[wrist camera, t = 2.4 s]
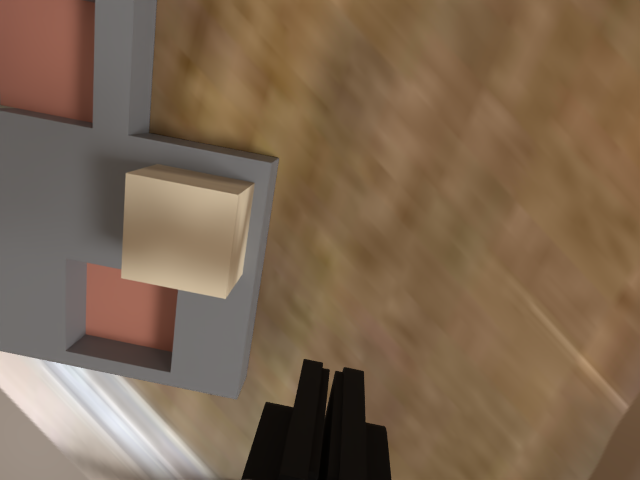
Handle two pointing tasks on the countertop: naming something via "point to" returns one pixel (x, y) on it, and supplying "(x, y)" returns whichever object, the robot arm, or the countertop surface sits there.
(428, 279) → the countertop surface
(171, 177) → the birch block
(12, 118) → the board
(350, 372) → the robot arm
